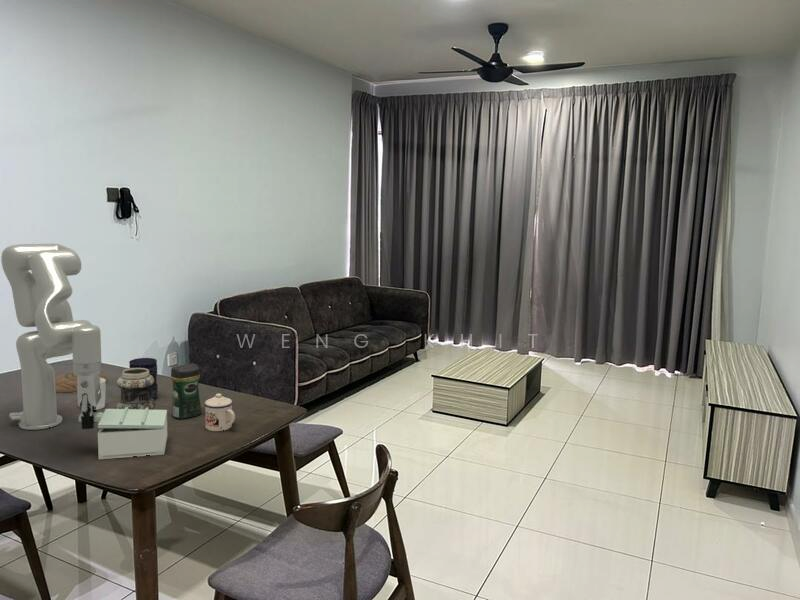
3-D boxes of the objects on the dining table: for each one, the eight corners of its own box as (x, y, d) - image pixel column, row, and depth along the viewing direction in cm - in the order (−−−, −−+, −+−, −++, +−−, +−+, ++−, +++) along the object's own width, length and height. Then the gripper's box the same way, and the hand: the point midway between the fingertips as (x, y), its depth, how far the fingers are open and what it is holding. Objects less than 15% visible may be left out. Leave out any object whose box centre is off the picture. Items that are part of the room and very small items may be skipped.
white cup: (81, 412, 216) (80, 384, 214) (83, 405, 223) (82, 378, 221) (106, 409, 219) (105, 383, 217) (107, 403, 226) (106, 377, 224)
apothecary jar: (157, 414, 217) (156, 365, 214) (153, 426, 205) (152, 374, 203) (120, 415, 213) (119, 366, 211) (114, 428, 202) (112, 376, 199)
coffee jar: (193, 409, 223) (193, 360, 220) (204, 415, 218) (203, 365, 215) (168, 415, 216) (167, 364, 213) (178, 421, 211) (177, 369, 208)
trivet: (65, 398, 230) (65, 393, 229) (23, 387, 240) (23, 383, 240) (121, 382, 252) (120, 378, 252) (80, 373, 263) (79, 368, 262)
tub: (98, 459, 178) (97, 433, 177) (106, 441, 191) (105, 416, 190) (164, 454, 183) (163, 429, 182) (167, 437, 197) (166, 413, 195)
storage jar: (161, 395, 237) (161, 358, 235) (152, 403, 227) (151, 365, 225) (136, 394, 237) (135, 357, 234) (125, 402, 227) (124, 364, 225)
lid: (74, 427, 175) (75, 421, 175) (84, 411, 188) (84, 405, 188) (163, 428, 182) (164, 422, 182) (166, 412, 195) (167, 407, 195)
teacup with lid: (198, 427, 206) (198, 394, 204) (219, 420, 213) (219, 388, 211) (223, 436, 199) (223, 402, 198) (244, 428, 207) (244, 395, 205)
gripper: (96, 374, 173) (98, 435, 176) (106, 359, 189) (107, 415, 191) (66, 375, 171) (69, 437, 174) (79, 359, 186) (81, 416, 189)
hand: (89, 424), depth 182 cm, fingers closed on lid, 4 cm apart
